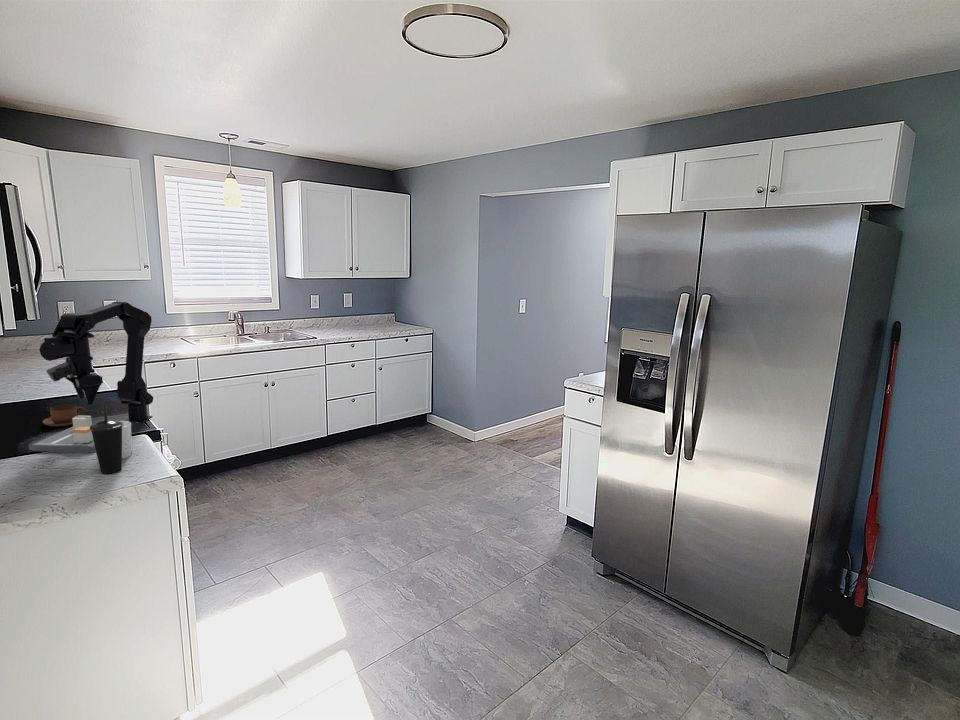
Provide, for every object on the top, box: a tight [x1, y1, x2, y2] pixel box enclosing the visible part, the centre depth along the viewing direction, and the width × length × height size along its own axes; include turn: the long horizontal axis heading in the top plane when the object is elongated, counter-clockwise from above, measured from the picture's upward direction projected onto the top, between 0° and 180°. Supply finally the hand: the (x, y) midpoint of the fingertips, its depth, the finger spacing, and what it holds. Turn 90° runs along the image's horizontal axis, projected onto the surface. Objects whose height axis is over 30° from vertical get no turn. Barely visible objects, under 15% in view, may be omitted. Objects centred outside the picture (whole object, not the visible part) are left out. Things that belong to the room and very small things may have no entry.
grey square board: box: [31, 426, 96, 454], centre depth 172 cm, size 18×18×2 cm
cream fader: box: [72, 415, 93, 429], centre depth 177 cm, size 3×4×4 cm
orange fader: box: [73, 427, 93, 443], centre depth 167 cm, size 3×4×4 cm
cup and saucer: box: [42, 403, 86, 428], centre depth 188 cm, size 12×12×6 cm
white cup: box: [119, 420, 133, 460], centre depth 161 cm, size 8×8×10 cm
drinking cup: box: [90, 402, 123, 476], centre depth 150 cm, size 8×8×20 cm
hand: (85, 401), depth 172 cm, fingers open, 9 cm apart
